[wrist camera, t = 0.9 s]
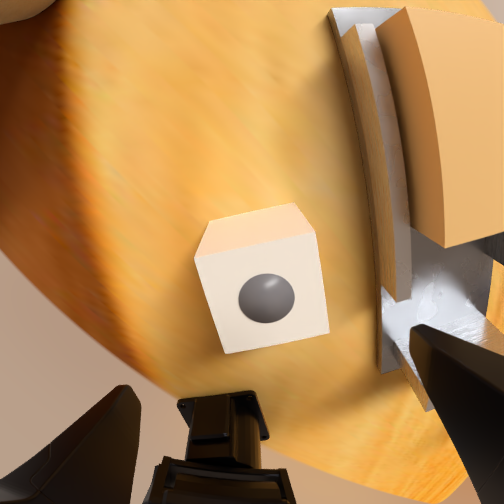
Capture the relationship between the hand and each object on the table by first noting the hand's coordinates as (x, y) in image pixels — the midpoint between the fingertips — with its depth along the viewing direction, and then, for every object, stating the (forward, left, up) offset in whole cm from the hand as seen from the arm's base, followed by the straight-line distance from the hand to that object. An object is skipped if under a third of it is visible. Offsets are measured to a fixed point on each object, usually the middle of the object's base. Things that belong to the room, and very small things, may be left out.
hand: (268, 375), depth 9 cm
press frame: (+1, -12, -11) cm, 16 cm away
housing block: (0, 0, -11) cm, 11 cm away
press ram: (+6, -12, -10) cm, 17 cm away
